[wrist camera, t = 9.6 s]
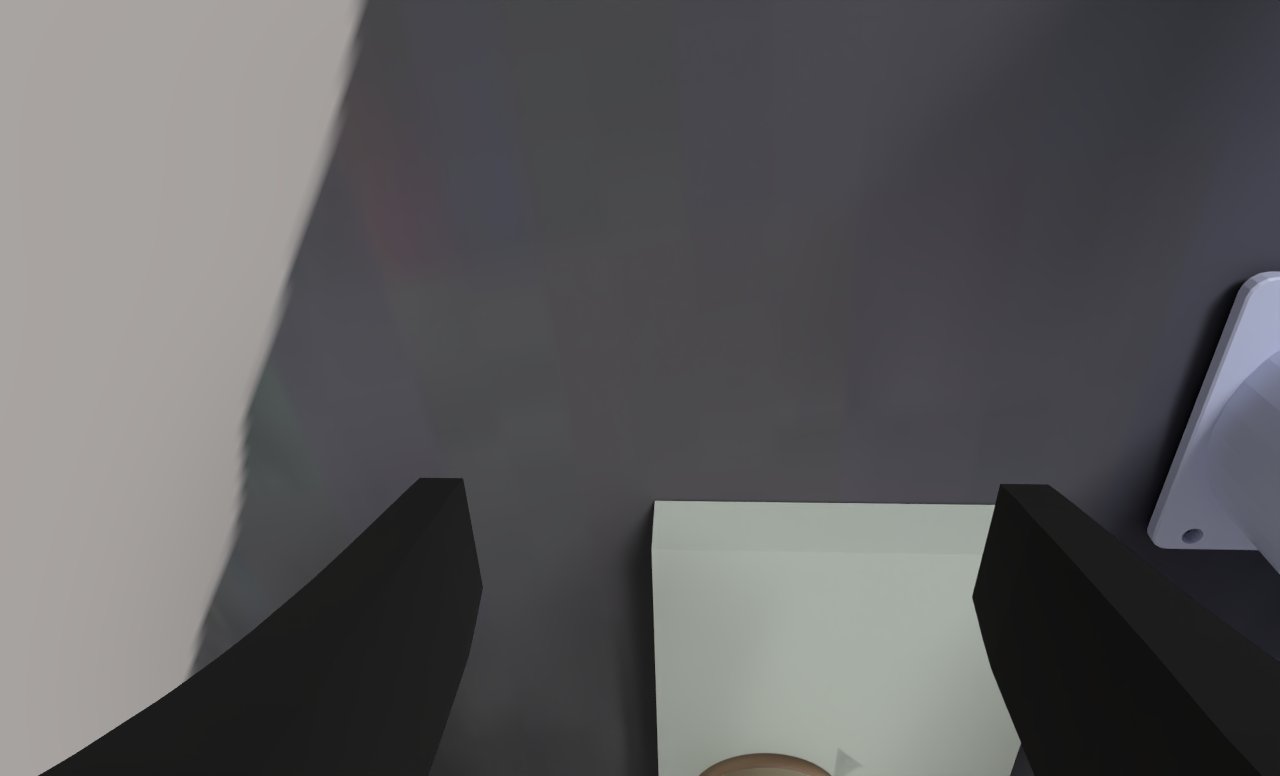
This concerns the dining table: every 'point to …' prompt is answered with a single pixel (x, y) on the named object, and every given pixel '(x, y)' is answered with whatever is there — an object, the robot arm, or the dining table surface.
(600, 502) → the dining table surface
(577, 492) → the dining table surface
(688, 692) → the board
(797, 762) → the peg
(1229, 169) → the dining table surface
